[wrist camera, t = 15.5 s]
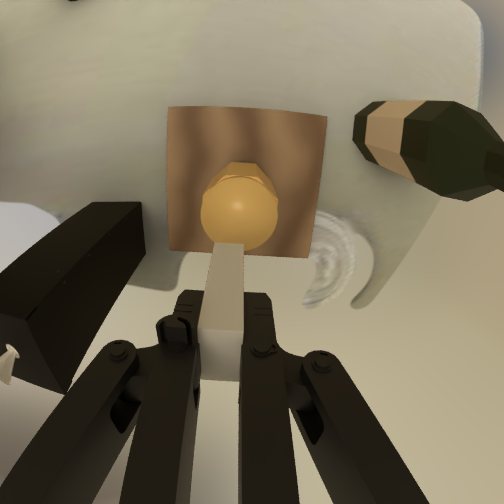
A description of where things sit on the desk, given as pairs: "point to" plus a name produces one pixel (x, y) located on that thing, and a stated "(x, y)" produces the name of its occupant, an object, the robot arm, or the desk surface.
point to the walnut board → (251, 150)
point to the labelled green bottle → (433, 146)
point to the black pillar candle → (66, 292)
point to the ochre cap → (240, 206)
